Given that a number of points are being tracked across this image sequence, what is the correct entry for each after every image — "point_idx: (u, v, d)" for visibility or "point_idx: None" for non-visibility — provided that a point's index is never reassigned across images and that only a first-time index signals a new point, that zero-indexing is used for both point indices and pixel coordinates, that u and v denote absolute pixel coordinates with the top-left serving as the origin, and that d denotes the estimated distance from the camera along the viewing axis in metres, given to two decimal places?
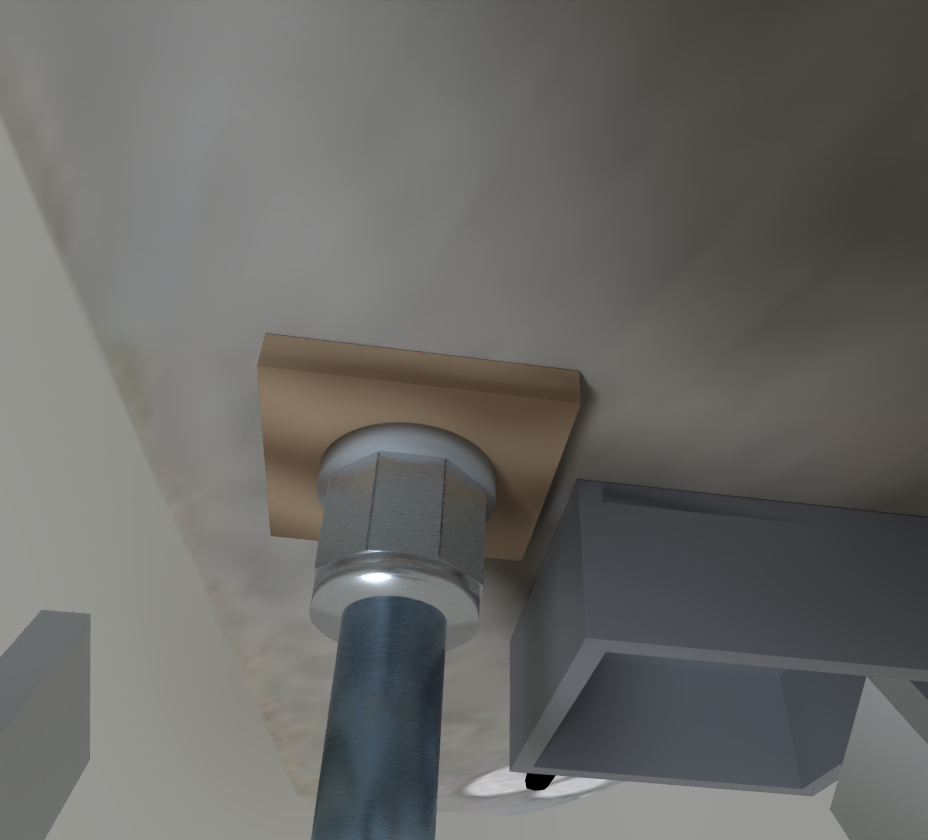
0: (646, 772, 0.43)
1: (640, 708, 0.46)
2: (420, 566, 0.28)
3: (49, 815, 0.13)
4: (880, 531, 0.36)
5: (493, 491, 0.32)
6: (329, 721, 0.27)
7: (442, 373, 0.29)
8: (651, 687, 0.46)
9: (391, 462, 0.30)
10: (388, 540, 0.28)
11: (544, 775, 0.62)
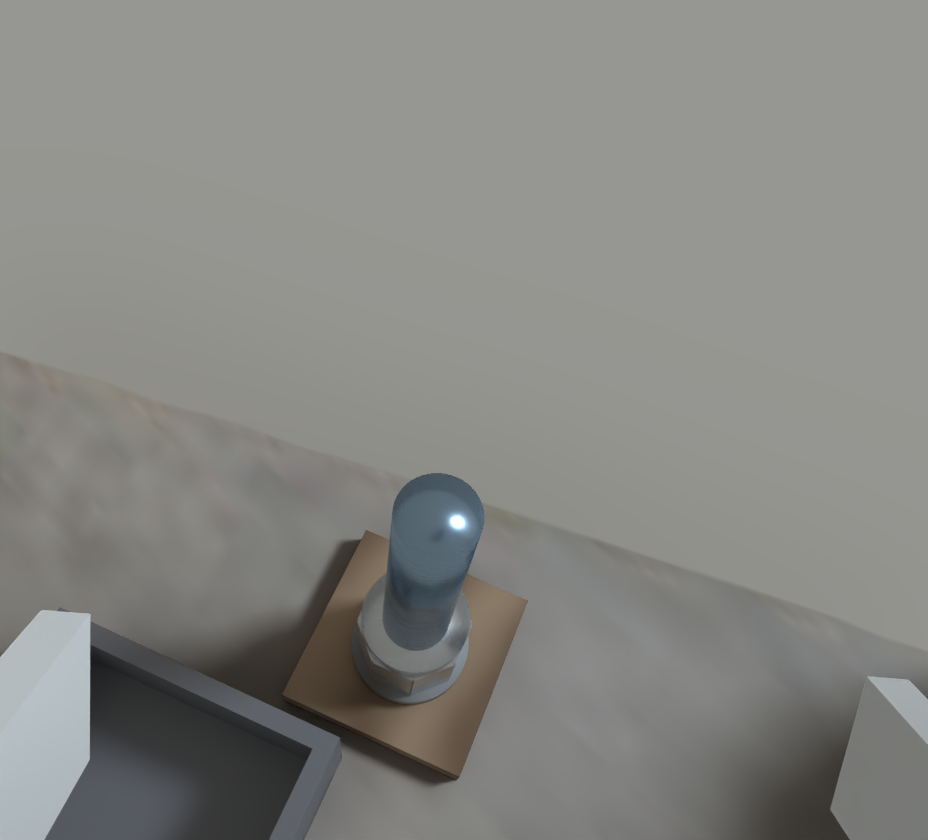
0: None
1: None
2: (459, 651, 0.46)
3: (49, 815, 0.13)
4: None
5: (405, 700, 0.48)
6: None
7: None
8: None
9: None
10: None
11: None
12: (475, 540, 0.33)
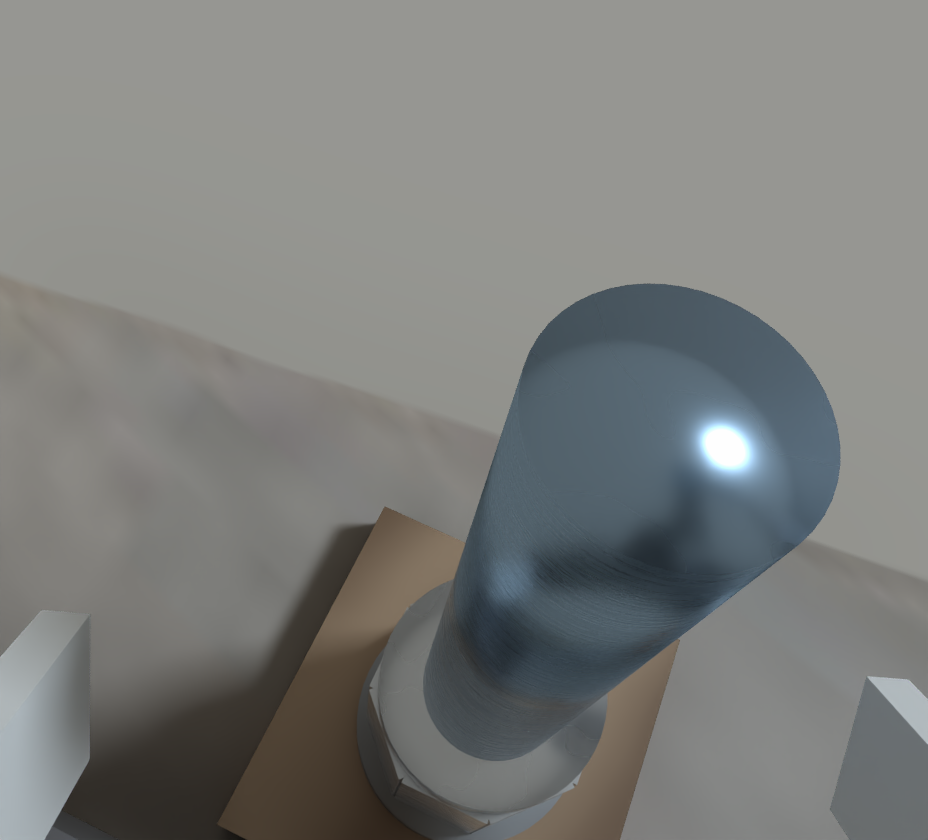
0: None
1: None
2: None
3: (49, 815, 0.13)
4: None
5: None
6: None
7: None
8: None
9: None
10: None
11: None
12: (821, 507, 0.09)
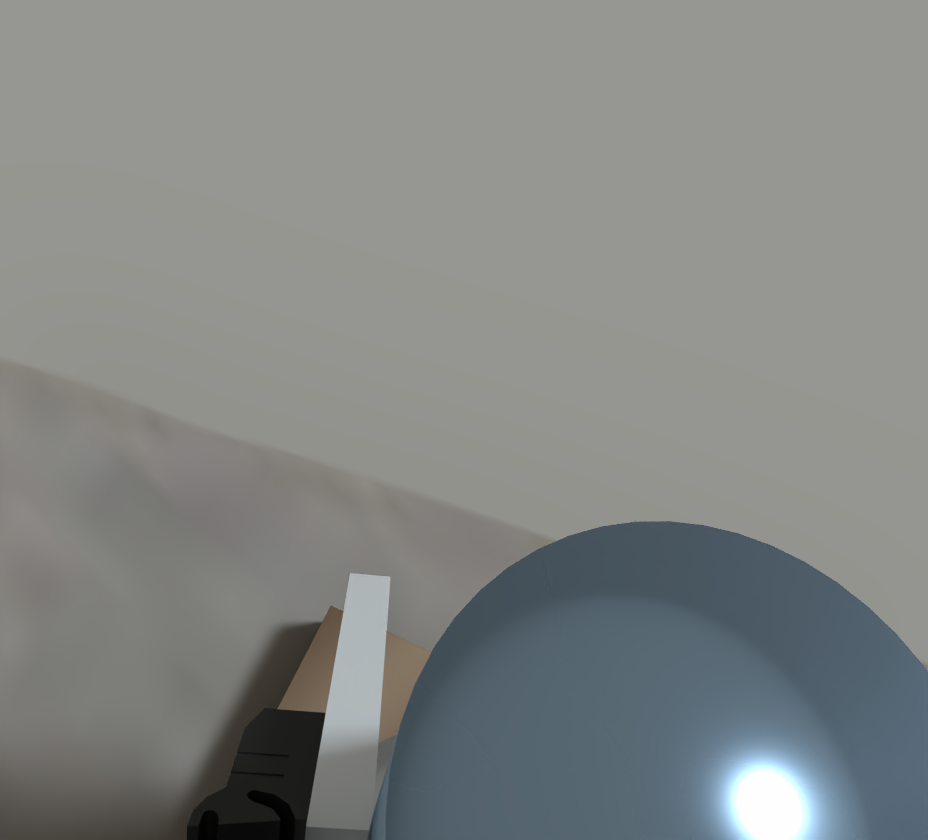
0: None
1: None
2: None
3: None
4: None
5: None
6: None
7: None
8: None
9: None
10: None
11: None
12: None
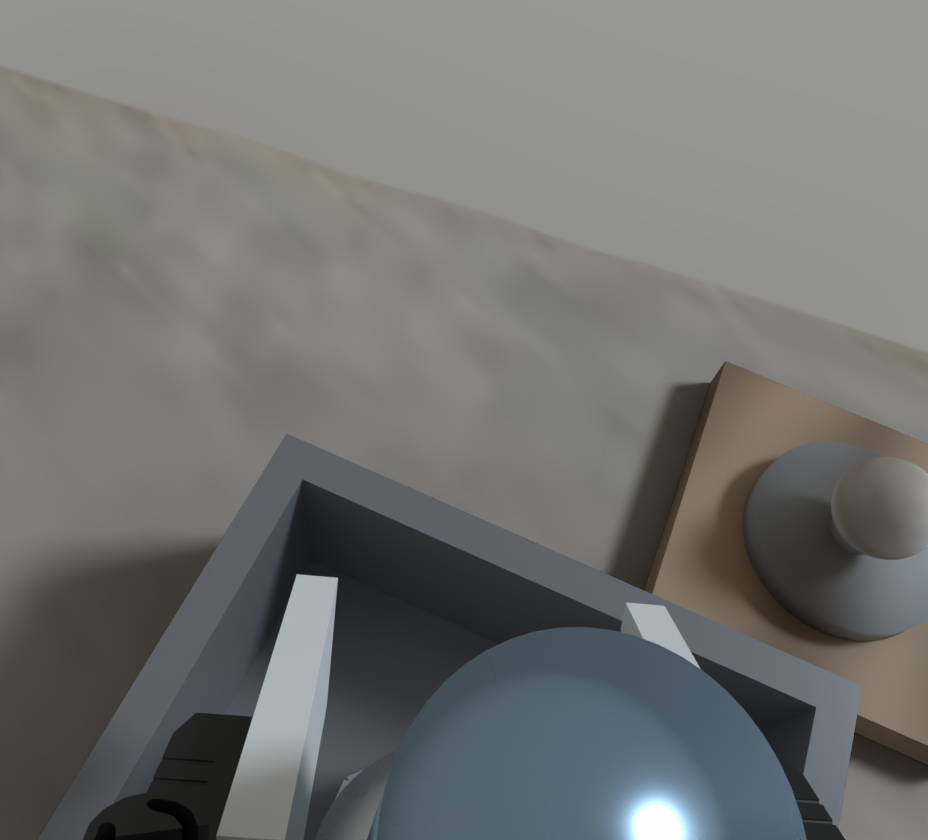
0: (180, 691, 0.20)
1: None
2: None
3: (318, 747, 0.15)
4: None
5: (870, 631, 0.27)
6: None
7: None
8: None
9: None
10: None
11: None
12: None
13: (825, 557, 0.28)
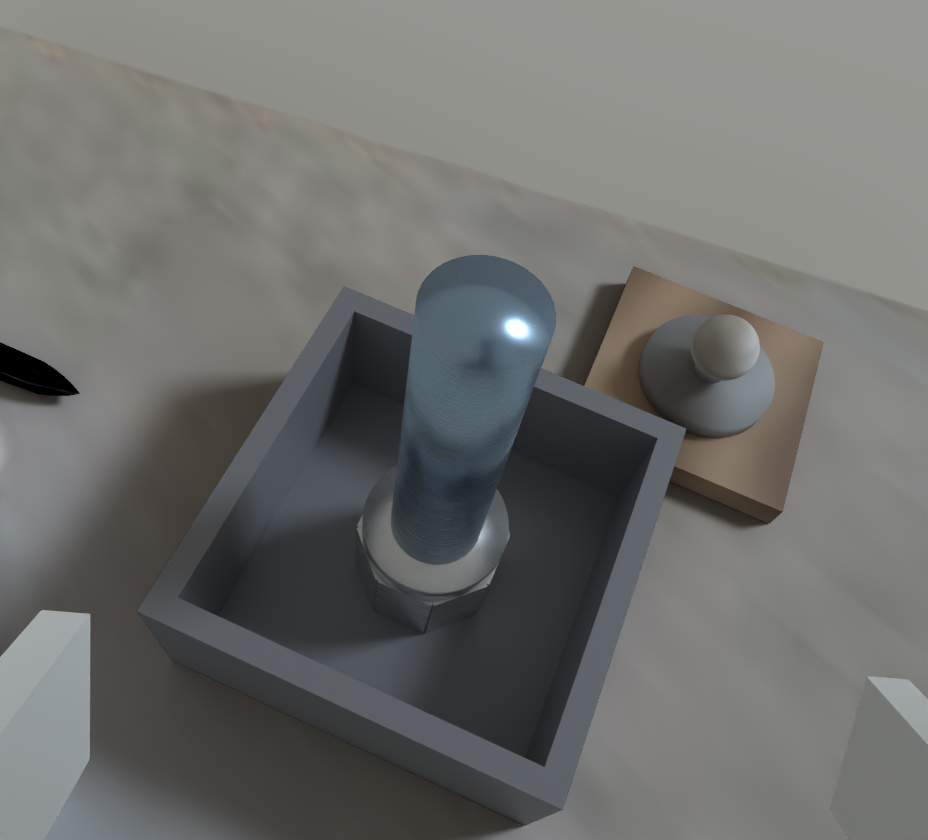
0: (289, 418, 0.35)
1: (293, 455, 0.37)
2: (494, 568, 0.34)
3: (49, 815, 0.13)
4: None
5: (715, 427, 0.42)
6: None
7: None
8: (287, 480, 0.38)
9: None
10: None
11: None
12: (543, 347, 0.22)
13: (689, 383, 0.43)
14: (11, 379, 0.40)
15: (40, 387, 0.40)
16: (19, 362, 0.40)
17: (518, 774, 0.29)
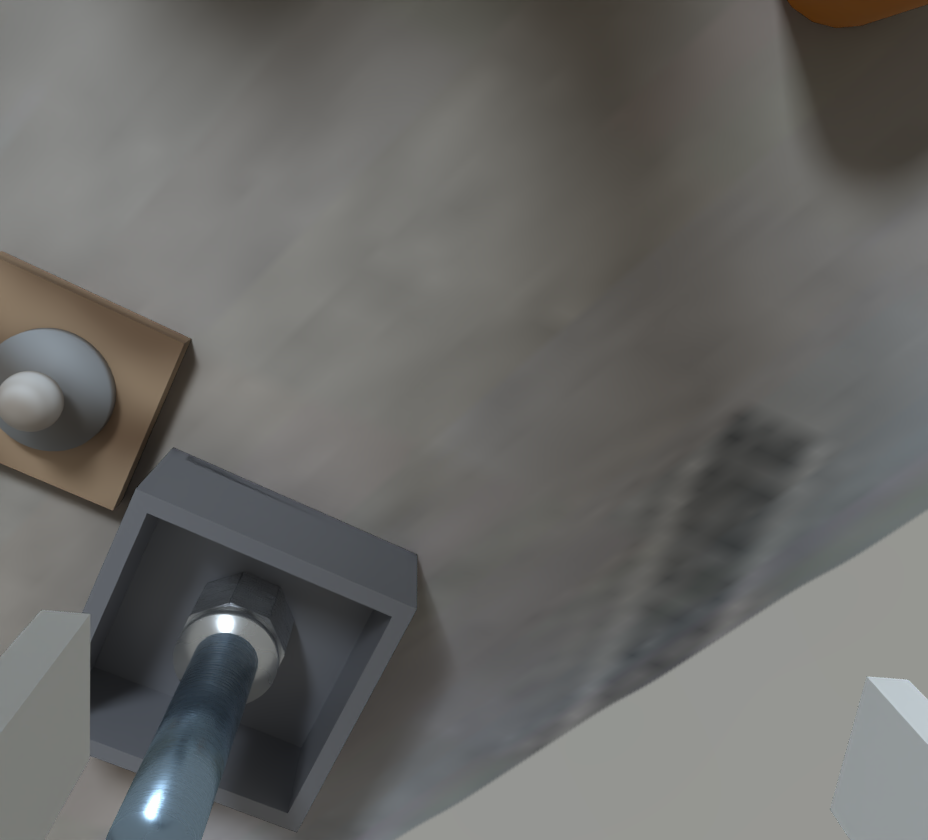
0: None
1: None
2: (257, 619, 0.48)
3: (49, 815, 0.13)
4: (370, 541, 0.52)
5: (109, 399, 0.47)
6: (182, 680, 0.44)
7: (104, 303, 0.48)
8: None
9: (249, 577, 0.52)
10: (242, 603, 0.49)
11: None
12: (175, 819, 0.34)
13: (65, 414, 0.47)
14: None
15: None
16: None
17: (395, 632, 0.47)
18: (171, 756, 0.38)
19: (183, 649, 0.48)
